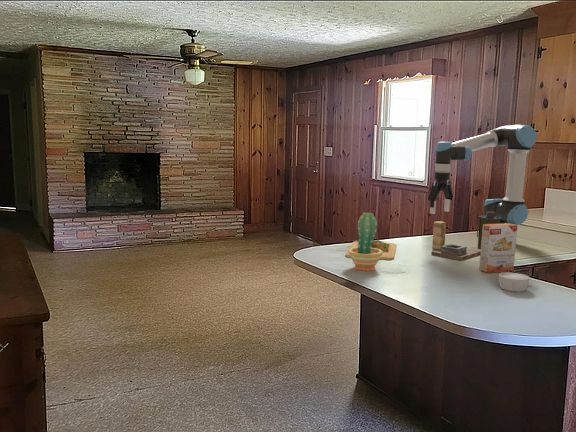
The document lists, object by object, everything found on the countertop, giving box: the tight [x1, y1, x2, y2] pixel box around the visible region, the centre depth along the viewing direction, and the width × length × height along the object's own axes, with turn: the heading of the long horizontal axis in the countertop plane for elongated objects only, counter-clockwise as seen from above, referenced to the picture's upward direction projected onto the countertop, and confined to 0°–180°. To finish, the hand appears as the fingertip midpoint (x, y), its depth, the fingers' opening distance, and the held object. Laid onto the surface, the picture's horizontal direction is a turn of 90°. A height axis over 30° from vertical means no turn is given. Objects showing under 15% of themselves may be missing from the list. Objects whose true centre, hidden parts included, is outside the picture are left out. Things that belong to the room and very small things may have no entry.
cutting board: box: [345, 239, 397, 261], centre depth 275 cm, size 35×23×8 cm
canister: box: [476, 212, 501, 249], centre depth 278 cm, size 11×10×20 cm
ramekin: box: [498, 272, 530, 293], centre depth 210 cm, size 11×11×5 cm
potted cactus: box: [347, 212, 383, 271], centre depth 239 cm, size 15×15×25 cm
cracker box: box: [478, 223, 518, 274], centre depth 236 cm, size 14×6×21 cm, turn 105°
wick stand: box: [431, 243, 481, 261], centre depth 270 cm, size 24×16×4 cm, turn 133°
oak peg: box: [432, 220, 447, 250], centre depth 282 cm, size 4×4×14 cm
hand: (439, 212), depth 280 cm, fingers open, 13 cm apart
